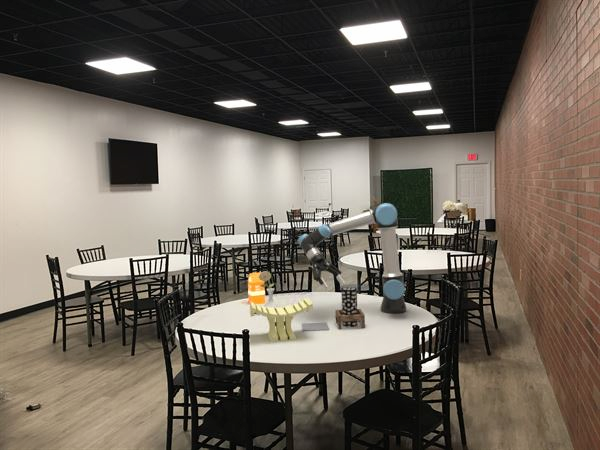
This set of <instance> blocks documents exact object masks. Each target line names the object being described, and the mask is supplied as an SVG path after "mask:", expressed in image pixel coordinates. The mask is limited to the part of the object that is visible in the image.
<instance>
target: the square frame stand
mask: <svg viewBox="0 0 600 450" xmlns="http://www.w3.org/2000/svg"><path fill="white" fill-rule="evenodd" d="M334 311H335V312H334V313H335V323H336V324H337V325H338V327H337V329H338V330H342V322H346V321H358V323H361V329H365V328H366V317H365V313H364V312H363V311H362V309H361V308H357V315H342V309H334Z"/></svg>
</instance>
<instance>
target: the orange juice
mask: <svg viewBox="0 0 600 450" xmlns="http://www.w3.org/2000/svg"><path fill="white" fill-rule="evenodd" d="M260 273H261V272H254V273H253V272H252V273H251V272H250V273H249V275H248V280H247V289H248V290H247V291H248V295H247V296H248V303H249V304H250V302H253V303H254V305H255V306H256V304H259V305H263V304H264V305H265V304H266V291H265V287H266V286H265V287H260V286H261V285H262V284H265V281H263V280H262V281H261V280H259V278H258V276H259V274H260Z"/></svg>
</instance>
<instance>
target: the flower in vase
mask: <svg viewBox="0 0 600 450" xmlns="http://www.w3.org/2000/svg"><path fill="white" fill-rule="evenodd" d="M270 272H271V271H266V270H264V271H262V272H261V273H260V272H259V273H260V274H259V276H258V278H259V280H261V281H262V280H263V281H264V282H268V281H270V279H271V278H272V273H270ZM274 285H275V282H273V283H270V284H269V286H268V284H267V283H264V284H262V285H261V286H260V287H267V288H266V291H267V293H268V301H267V302H265V303H264V305H263V306H265V308H266V309H267V307H273V308H278V307H281V306H280V305H279V304H278V303H276V302H275V301H274V299H273V297H274V296H273V295H274V290H275V288H272V287H273V286H274Z"/></svg>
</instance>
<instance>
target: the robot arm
mask: <svg viewBox="0 0 600 450" xmlns="http://www.w3.org/2000/svg"><path fill="white" fill-rule="evenodd" d="M398 223H399V222H398V211H397V207H395V206H394V205H393V204H392V203H389V202H383V203H381V204H379V205H377V206H375V207H371V208H369V210H368V211H365V212H362V213H361V212H360V213H359V214H356V215H352V216H349V217H345V218H342V219H339V220H336V221H334V222H333V221H332V222H330V223H327V224H326V223H322V224H321V225H319V226H318V227H317V228H316V229H315V230H313V232H311V233H310V234H307V233H304V234H301V235H300V236H299V237H298V238H297V239H298V240H297V243H298V245H299V246H300V248H301V249H302V251H303V252H304V254H305V255H306V257H307V258H308V260H309V261H310V263H311V266H310V268H311V272H312V278H313V281H316V282H318V283H319V284H320V285H321V288H323V289H324V291H327V289H328V288H329V286H328V285H327V283H326V282H325V279H323V277H321V276H322V272H328V273H330V274H332V275H333V276H335V278H336V280H337V281H338V283H339V284H340V285H341V287H344V285H345V284H346V282H345V280H344V279H343V276H342V275H341V274H342V273H343V272H342V271H341V270H340V269H339V268H337V267H336V266H335V265H333V264H332V262H331V261H330V260H329V261H327V262H326V261H325V257H324V256H323V254H322V253H321V251H320V250H319V249H318V247H317V246H318V245H319V244H320V243H322V242H323V241H325V239H327V238H329V237H333V236H335V235H339V234H342V233H345V232H349V231H352V230H355V229H358V228H363V227H366V226H368V225H371V224H375V225H376V228H377V230H379V232H380V241H381V242H380V244H381V251H382V262H383V274H382V275H381V276H382V277H381V280H382V286H383V287H382V291H383V293H382V294H383V295H382V296H383V298H382V301H381V304H380V311H381V313H382V312H383V313H385V314H401V313H405V312H407V304H406V302H405V300H404V293H405V291H406V290H405V289H406V288H405V284H404V275H403V272H401V271H400V260H399V251H398V243H397V241H398V239H397V231H396V230H397V228H398V227H399V224H398Z"/></svg>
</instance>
